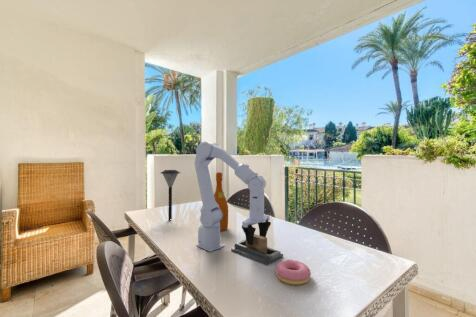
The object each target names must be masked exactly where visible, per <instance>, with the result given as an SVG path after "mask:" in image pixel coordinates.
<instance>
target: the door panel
mask: <svg viewBox="0 0 476 317" xmlns="http://www.w3.org/2000/svg"><path fill="white" fill-rule="evenodd" d="M245 240H246V246H247V247H250V248H252V249H255V250H258V251H261V252H263V253H266V254H267V247H268V237H267V236H266V237H263V236H260V235H259V234H256V233H254V238H253V245H249V244H248V243H247V239H246V238H245Z"/></svg>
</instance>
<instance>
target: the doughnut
mask: <svg viewBox="0 0 476 317" xmlns="http://www.w3.org/2000/svg"><path fill="white" fill-rule="evenodd" d="M274 271H275V274H276V276H277V278H278V279H279V280H280V281H282V282H283V283H285V284H288V285H293V286H296V285H297V286H299V285H303V284H306V283H307V282H309V280H310V279H311V276H312V273H311V269H310V267H309V266H308V265H307V264H306V263H303V262H301V261H298V260H293V259H286V260H281V261H279V262H278V263H276V267H275V270H274Z"/></svg>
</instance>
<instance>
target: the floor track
mask: <svg viewBox="0 0 476 317" xmlns="http://www.w3.org/2000/svg"><path fill="white" fill-rule="evenodd" d="M231 252H233V253H236V254H239V255H241V256H243V257H245V258H248V259H250V260H253V261H255V262H258V263H261V264H262V265H265V266H268V265H271V264H273V263H275V262H277V261H278V260H280V259H283V257H284V253H281V251H279V250H277V249H274V248H271V247H268V246H267V254H266V253H263V252H261V251H258V250H255V249H252V248H250V247H247V246H246V239H243V240H240V241H238V242H235V243H234V247H231Z"/></svg>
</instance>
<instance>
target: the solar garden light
mask: <svg viewBox="0 0 476 317" xmlns="http://www.w3.org/2000/svg"><path fill="white" fill-rule="evenodd" d="M160 174H162V175H163V178H164V180H165V182H166V184H167V186H168V221H171V220H170V219H172V218H173V214H172V213H173V211H172V210H173V185H174V184H175V181H176V179H177V177H178V175H179V174H181V172H180V171H178V170H176V169H165V170H163V171H161V172H160Z"/></svg>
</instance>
